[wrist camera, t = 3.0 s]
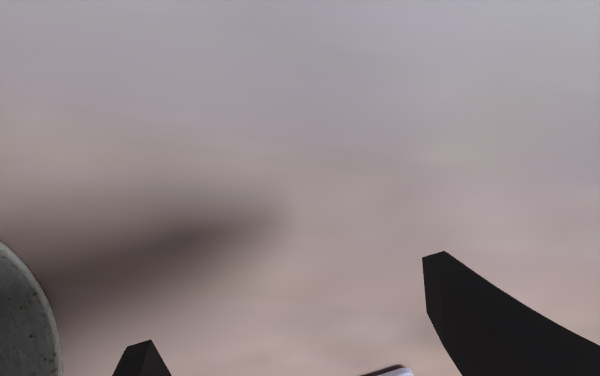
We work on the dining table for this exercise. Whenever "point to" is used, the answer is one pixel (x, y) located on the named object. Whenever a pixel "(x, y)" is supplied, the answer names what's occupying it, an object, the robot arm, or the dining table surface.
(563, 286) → the dining table surface
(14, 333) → the ceramic mug
